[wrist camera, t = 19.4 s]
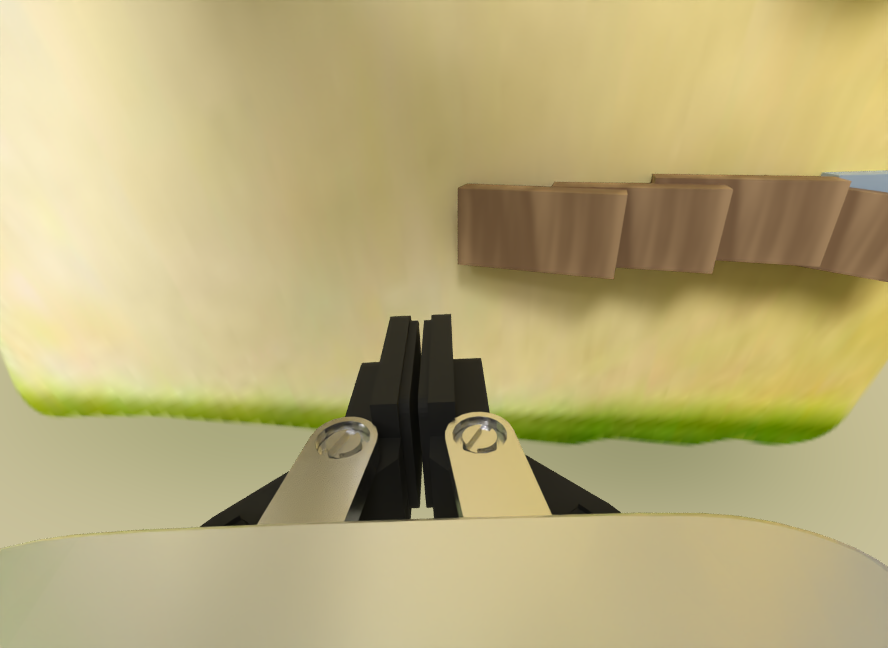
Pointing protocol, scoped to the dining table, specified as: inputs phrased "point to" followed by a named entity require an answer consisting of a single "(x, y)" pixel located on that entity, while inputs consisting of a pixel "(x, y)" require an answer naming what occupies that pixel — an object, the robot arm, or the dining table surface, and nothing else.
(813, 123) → the dining table surface
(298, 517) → the robot arm
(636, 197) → the domino
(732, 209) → the domino
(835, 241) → the domino
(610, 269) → the domino
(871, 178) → the domino
